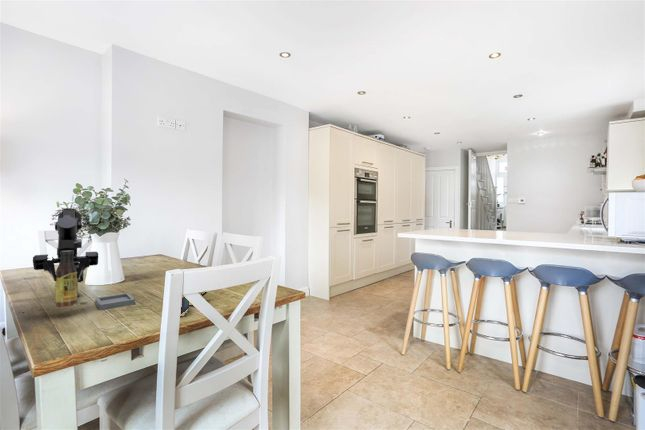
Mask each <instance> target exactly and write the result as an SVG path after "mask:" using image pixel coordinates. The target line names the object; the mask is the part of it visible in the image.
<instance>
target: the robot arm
mask: <svg viewBox="0 0 645 430" xmlns="http://www.w3.org/2000/svg"><path fill="white" fill-rule="evenodd" d="M82 228H83V224H82V214H81V213H80V212H78V211H77V208H62V211H61V212H59V213H58V215H57V221H55V223H54V229H55V231H56V232H57V235H58V239H57V241H58V243H57V248H56V257H53V256H49V254H35V255H33V257H32V265H33V270H35V271H40V270H41V271H44V272H48V273H49V274H50V275H51V277H52V279H53V281H54V282H56V267H55V264H59V265H60V261H61V255H60V251H62V250H74V264H75V267H76V270H77V272H78V283H82V282H84V271H85V270H86V269H87V268H90V267H91V266H97V265H98V264H99V252H98V251H86V252H85V255H82V256H80V255H79V256H78V249H82V247H83V246H82V245H83V243H82V242H83V239H82V238H78V233H79V231H81V229H82ZM59 265H58V266H59ZM78 286H79V284H78V285H77V287H78ZM78 288H79V287H78ZM78 288H77V298H79V297H80V293H79V290H78Z"/></svg>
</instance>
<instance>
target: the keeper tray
mask: <svg viewBox="0 0 645 430" xmlns="http://www.w3.org/2000/svg"><path fill="white" fill-rule="evenodd" d="M94 304H95V305H96V307H97V308H98V310H99V311H104V310H109V309H113V308H120V307H121V308H122V307H125V306H132V305H136V299H135V297H133V295H132V294H131V293H130V292H125V293H118V294H112V295H111V294H110V295H107V296H100V297H95V300H94Z"/></svg>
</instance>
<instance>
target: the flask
mask: <svg viewBox="0 0 645 430" xmlns="http://www.w3.org/2000/svg"><path fill="white" fill-rule="evenodd" d="M188 307H189V308H190V306H189V301H188V300H187V299H186V298H185V297H183V298H182V307H181V314H182V313H183V312H185V311H186V310H187V309H188Z"/></svg>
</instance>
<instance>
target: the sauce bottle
mask: <svg viewBox="0 0 645 430" xmlns="http://www.w3.org/2000/svg"><path fill="white" fill-rule="evenodd" d="M60 255H61V261H60V265H58V266H57V268H56V269H55V272H56V281H55V291H54V292H55V295H54V296H55V299H54V300H55V301H54V302H55V307H58V308H65V307H70V306H75V305H76V304H77V303H78V297H77V288H79V287H77V285H78V286H79V282H78V272H77V270H76V267H75V264H74V250H62V251H60Z"/></svg>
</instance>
